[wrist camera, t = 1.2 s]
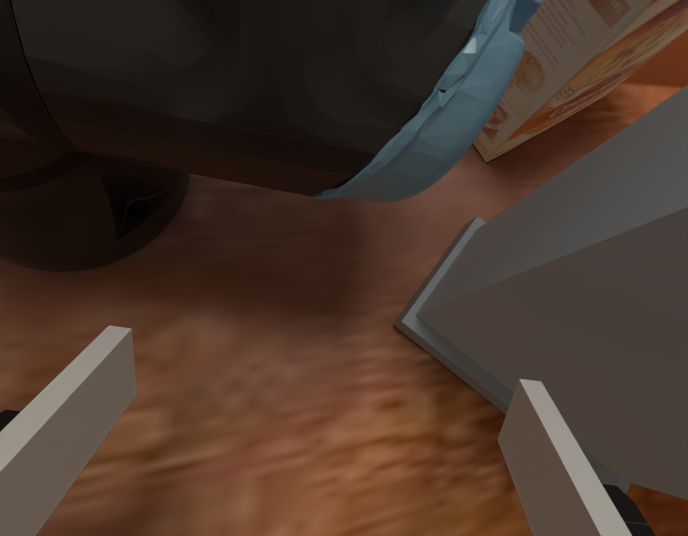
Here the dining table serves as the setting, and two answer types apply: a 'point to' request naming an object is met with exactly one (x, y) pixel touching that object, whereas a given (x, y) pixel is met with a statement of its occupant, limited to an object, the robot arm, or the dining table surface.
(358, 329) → the dining table surface
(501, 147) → the coffeecake box
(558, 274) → the stand
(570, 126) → the dining table surface
